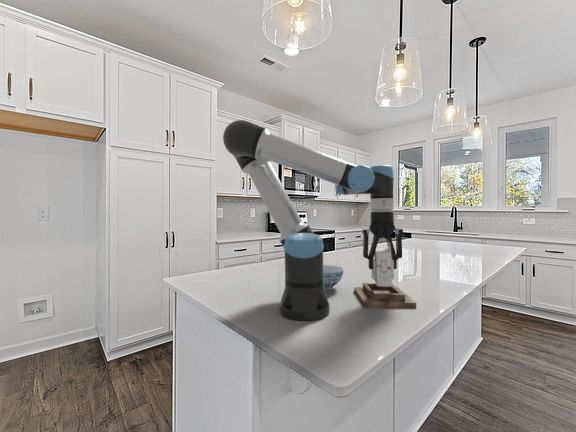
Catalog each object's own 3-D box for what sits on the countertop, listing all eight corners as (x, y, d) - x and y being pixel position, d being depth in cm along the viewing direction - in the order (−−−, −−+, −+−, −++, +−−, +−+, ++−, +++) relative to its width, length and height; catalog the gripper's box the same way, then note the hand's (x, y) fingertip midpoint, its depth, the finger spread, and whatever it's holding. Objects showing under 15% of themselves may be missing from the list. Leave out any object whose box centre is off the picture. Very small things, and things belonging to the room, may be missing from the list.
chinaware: (346, 293, 106) (346, 272, 106) (306, 293, 106) (305, 273, 106) (340, 283, 121) (340, 264, 121) (304, 283, 121) (304, 265, 121)
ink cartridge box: (373, 280, 104) (373, 239, 104) (388, 280, 103) (388, 239, 103) (376, 286, 96) (376, 242, 96) (392, 287, 95) (391, 242, 95)
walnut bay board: (364, 307, 91) (364, 296, 91) (354, 291, 109) (354, 281, 109) (416, 307, 90) (416, 296, 90) (397, 291, 108) (397, 281, 108)
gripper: (356, 211, 96) (357, 281, 96) (413, 210, 95) (414, 281, 95) (353, 211, 103) (353, 276, 104) (405, 210, 102) (405, 275, 103)
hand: (382, 278), depth 100 cm, fingers closed on ink cartridge box, 5 cm apart
